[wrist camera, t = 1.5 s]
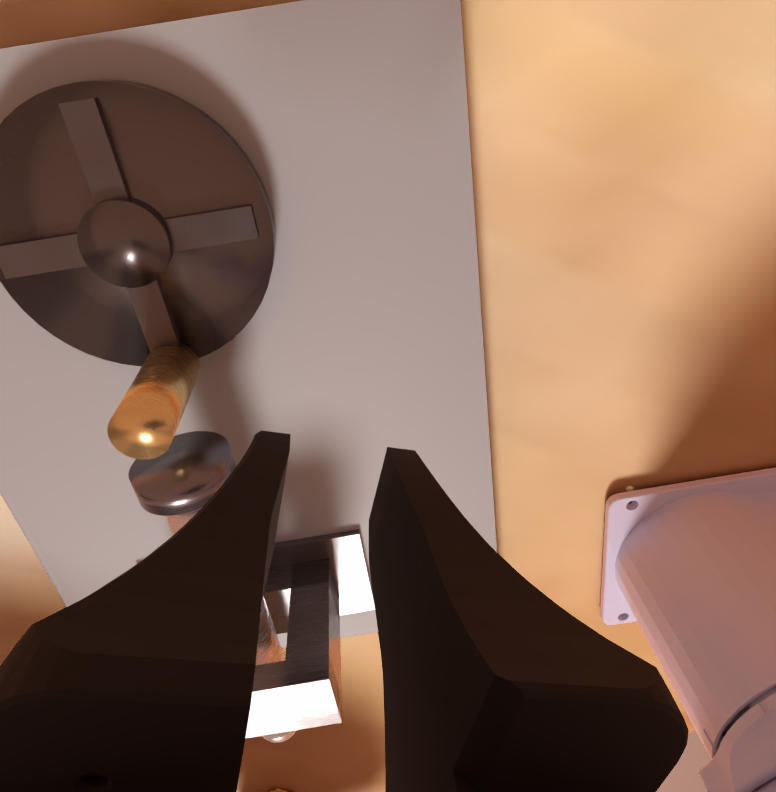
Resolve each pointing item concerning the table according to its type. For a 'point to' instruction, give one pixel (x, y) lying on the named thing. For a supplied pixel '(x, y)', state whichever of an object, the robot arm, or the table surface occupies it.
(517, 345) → the table surface
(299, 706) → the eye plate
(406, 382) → the board
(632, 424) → the table surface
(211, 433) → the headed rod
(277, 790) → the pneumatic valve
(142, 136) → the handwheel
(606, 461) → the table surface
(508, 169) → the table surface
